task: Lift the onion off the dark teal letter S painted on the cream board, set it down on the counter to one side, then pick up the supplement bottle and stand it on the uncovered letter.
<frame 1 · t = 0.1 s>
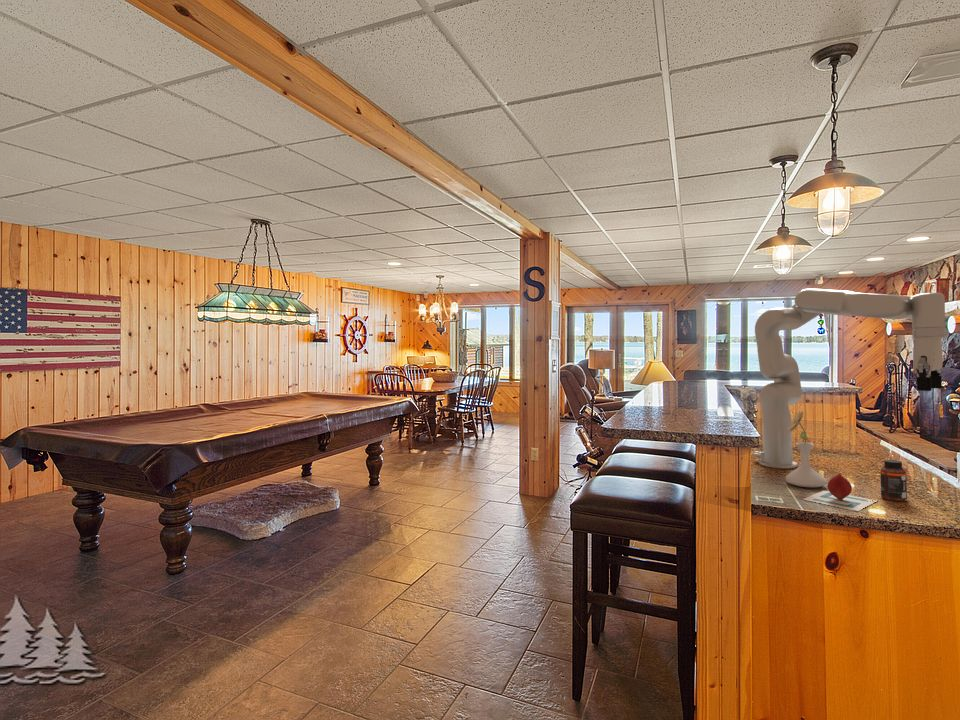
hand: (929, 389, 153), 31 cm above the countertop, tool pointing down, fingers open, 9 cm apart
onion: (839, 500, 147), resting on letter board
letter board: (839, 500, 147), on the countertop
flower in vase: (805, 486, 163), on the countertop
supplement bottle: (893, 499, 147), on the countertop
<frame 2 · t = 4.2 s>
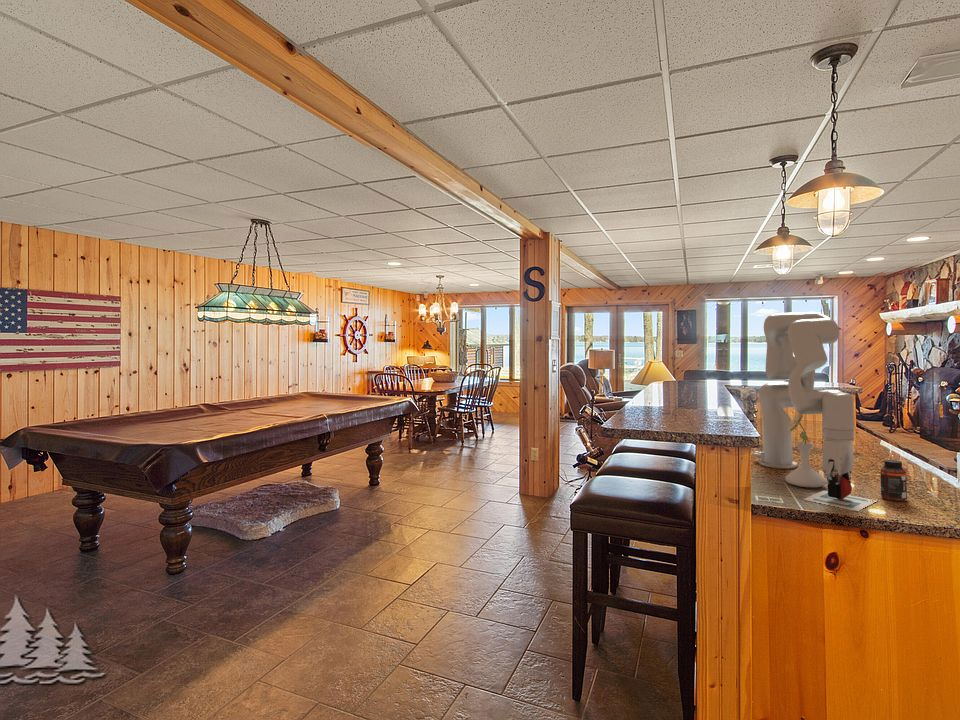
hand: (839, 494, 147), 2 cm above the countertop, tool pointing down, fingers closed on onion, 5 cm apart
onion: (839, 500, 147), resting on letter board, touching gripper
everything else where it was.
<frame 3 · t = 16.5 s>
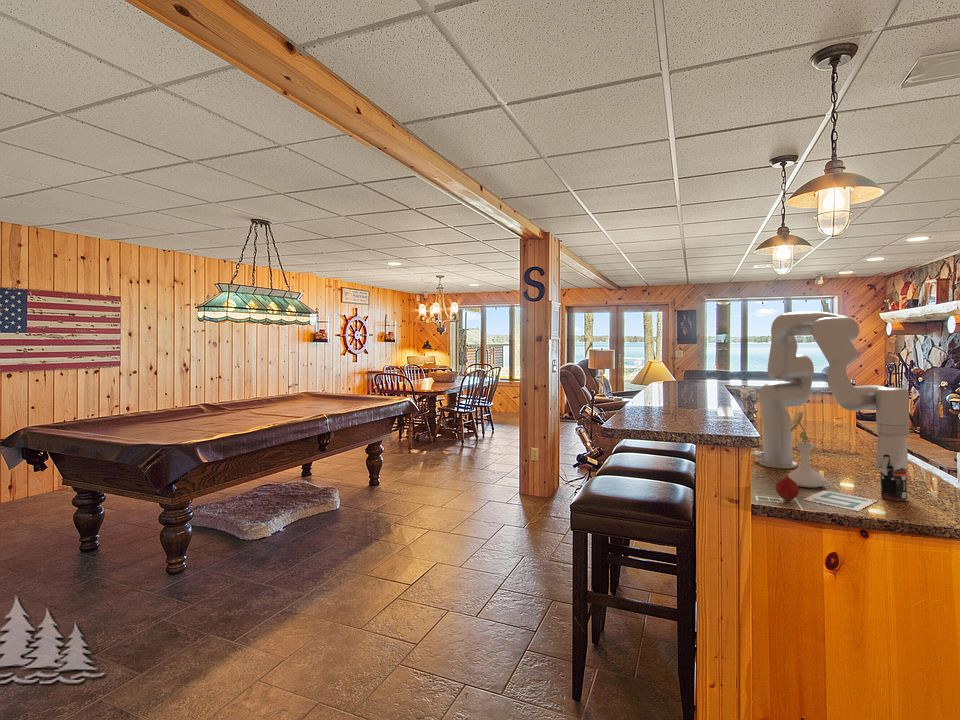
hand: (893, 490, 147), 3 cm above the countertop, tool pointing down, fingers closed on supplement bottle, 6 cm apart
onion: (787, 502, 148), on the countertop
supplement bottle: (894, 499, 147), on the countertop, touching gripper
everything else where it was.
when the fingers open (4 cm above the countertop, at t = 24.9 s): supplement bottle stays where it is, resting on letter board.
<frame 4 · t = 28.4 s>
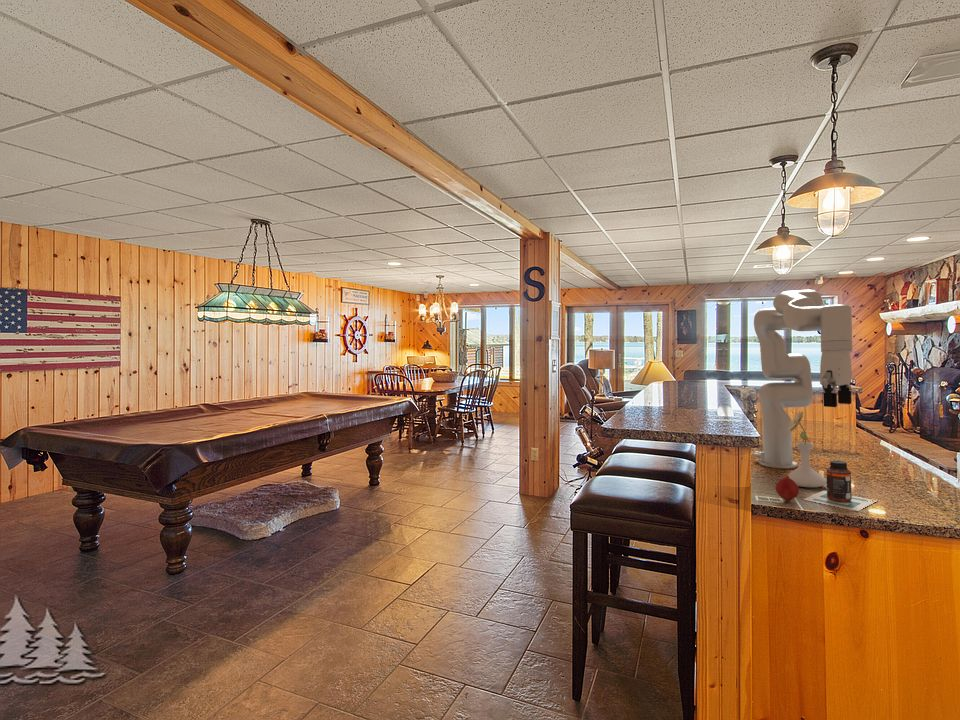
hand: (837, 405, 147), 28 cm above the countertop, tool pointing down, fingers open, 9 cm apart
supplement bottle: (839, 500, 147), resting on letter board
everything else where it was.
at the end: supplement bottle inside the target area on the letter board (0.1 cm from its centre), point 0.1 cm above the letter board's base; supplement bottle tilted 0°; onion touching countertop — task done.
